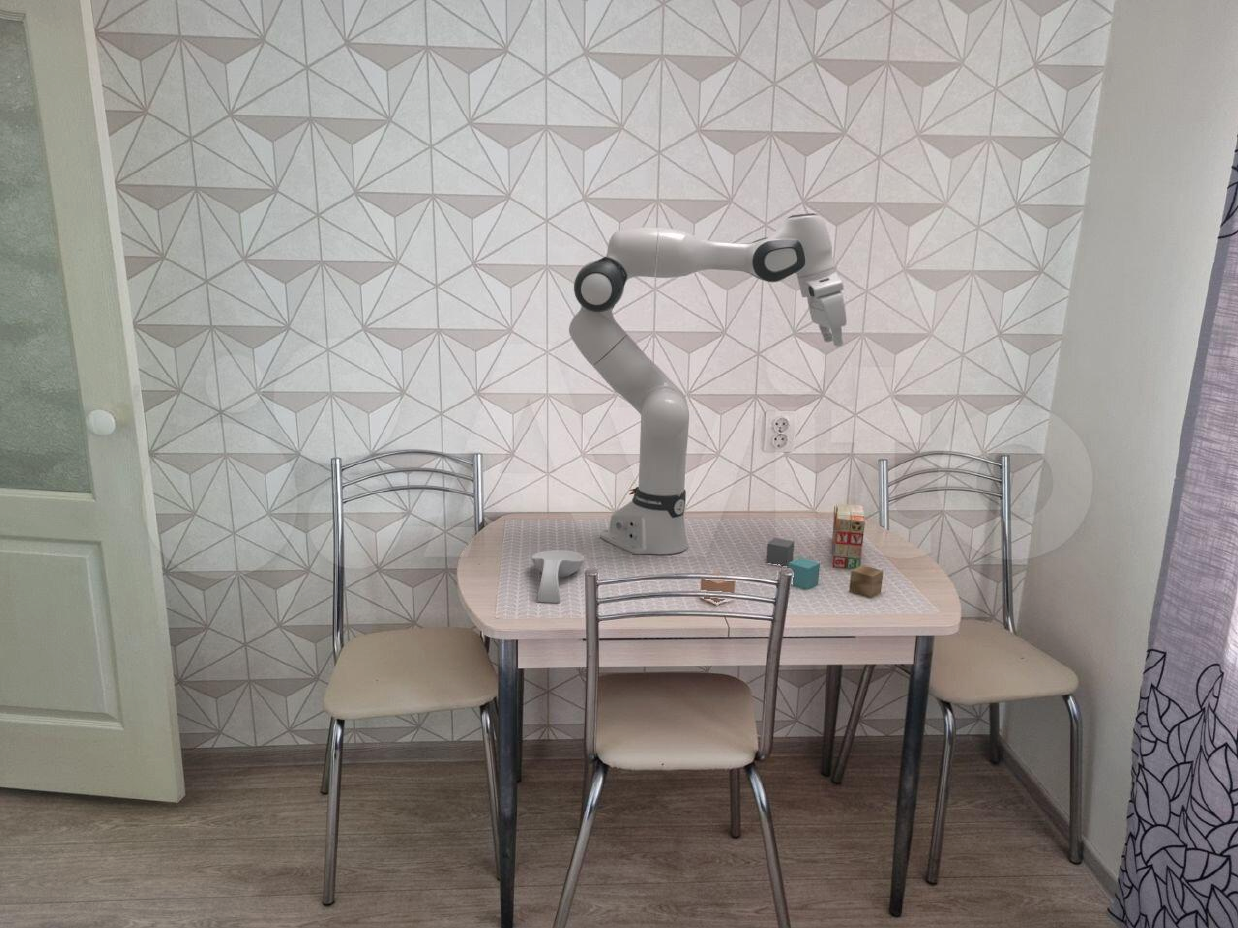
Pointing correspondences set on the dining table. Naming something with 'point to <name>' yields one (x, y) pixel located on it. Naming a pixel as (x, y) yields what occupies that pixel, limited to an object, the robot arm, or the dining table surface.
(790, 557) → the charcoal cube
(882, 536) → the dining table surface
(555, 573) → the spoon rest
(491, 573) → the dining table surface
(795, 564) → the teal cube
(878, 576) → the walnut cube
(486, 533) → the dining table surface
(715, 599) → the terracotta cube
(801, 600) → the dining table surface
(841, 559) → the stack of blocks
